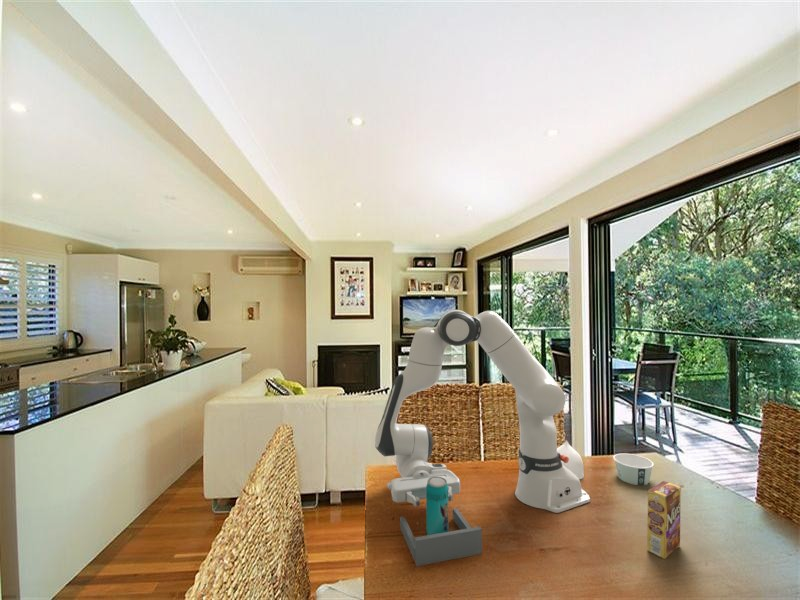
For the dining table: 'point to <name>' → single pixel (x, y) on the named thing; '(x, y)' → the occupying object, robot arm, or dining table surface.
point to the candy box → (663, 519)
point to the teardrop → (572, 460)
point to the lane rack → (444, 542)
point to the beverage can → (437, 505)
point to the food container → (633, 468)
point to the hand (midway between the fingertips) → (434, 500)
